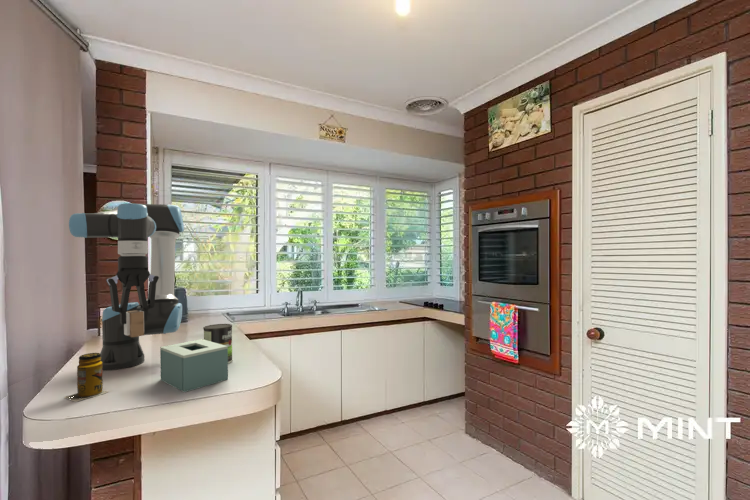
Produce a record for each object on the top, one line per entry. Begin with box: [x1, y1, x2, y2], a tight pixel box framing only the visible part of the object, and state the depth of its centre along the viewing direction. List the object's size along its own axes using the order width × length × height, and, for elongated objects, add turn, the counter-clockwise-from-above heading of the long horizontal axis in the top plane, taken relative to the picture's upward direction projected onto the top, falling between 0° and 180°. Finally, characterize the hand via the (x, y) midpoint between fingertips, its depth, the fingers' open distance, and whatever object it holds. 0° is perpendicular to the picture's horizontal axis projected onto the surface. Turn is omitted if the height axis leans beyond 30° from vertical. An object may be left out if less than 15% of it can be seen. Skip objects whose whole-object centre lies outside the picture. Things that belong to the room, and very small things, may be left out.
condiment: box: [63, 352, 109, 403], centre depth 110 cm, size 7×8×12 cm
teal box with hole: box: [159, 338, 229, 393], centre depth 121 cm, size 18×14×11 cm
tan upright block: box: [127, 310, 145, 337], centre depth 109 cm, size 6×3×7 cm, turn 50°
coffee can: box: [202, 323, 233, 364], centre depth 141 cm, size 10×10×14 cm
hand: (134, 333), depth 109 cm, fingers closed on tan upright block, 3 cm apart
